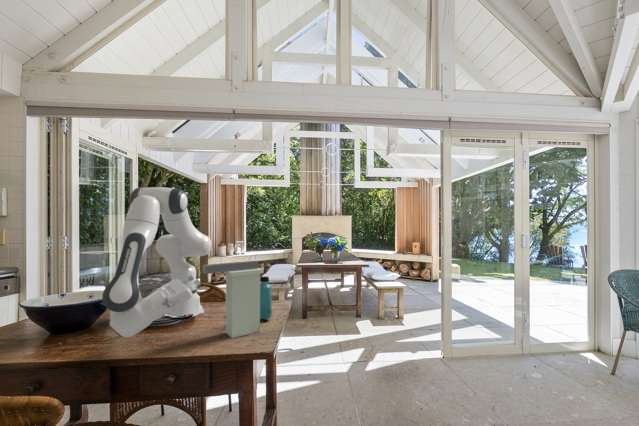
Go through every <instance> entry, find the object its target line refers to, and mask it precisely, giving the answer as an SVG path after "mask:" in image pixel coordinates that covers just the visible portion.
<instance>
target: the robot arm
mask: <svg viewBox="0 0 639 426" xmlns="http://www.w3.org/2000/svg"><path fill="white" fill-rule="evenodd" d="M188 201H189V198H188V194H187V193H186V192H185V191H184V190H183V189H180V188H176V187H175V188H171V187H166V186H165V187H164V186H163V187H162V186H158V187H157V186H156V187H153V186H152V187H150V186H149V187H145V186H141V187H137V188H134V189H133V190H132V191H131V193H130V196H129V205H130V206H129V208H128V211H127V214H126V217H125V220H124V223H123V228H122V229H123V230H122V240H121V241H122V245H121V246H122V249H121V253H120V256H119V260H118V264H117V267H116V271H115V274H114V276H113V278H112V279H111V281H109V283H108V284H107V285H106V287H105V288H104V290H103V292H102V298H101V299H102V303H103V305H104V307H105V308H106V309H108V310H109V311H110V312H109V313H110V317H109V319H110V320H109V328H110V329H111V330H112V331H113V332H114V333H115V334H116V335H117V336H119V337H121V338H123V339H124V338H127V339H128V338H131V337H132V336H135V335H136V334H138V333H140V332H141V331H143V330H144V329H146V328H147V327H149V326H150V325H151V324H152V323H153V322H154V321H156V320H159V319H160V318H161V317H164V316H163V315H165V314H168V315H171V316H184V315H188V314H193V316H192V317H196V316H198V315H202V314H204V313H205V310H204V308H203V306H202V304H201V302H200V301H201V299H200V295H199V294H198V293H197V292H198V286H200V285H201V280H200V279H197V270H196V268H195V266H194V265H192V264H190V263H189V262H187V260H186V259H185V258H188V257H189V258H192V257H194V258H198V257H203V256H207V255H208V254H209V253H210V252H211V251H212V244H213V243H212V240H211V238H210V237H209V235H206V234H204V233H202V232H200V231H199V230H198V229H197V228H196V227H195V226H194V224H193V223H192V221H191V217H190V215H189V211H188V203H189V202H188ZM160 215H161V217H160ZM160 218H162V221H163V224H164V228H165V230H166V231H167V233H168V234H164V235H161V236H159V238H157V240H156V243H155V248H156V252H157V253H158V254H159V255H160V256H162V258H163V259H165V261H166V262H167V264H168V266H169V268H170V278H171V279H170V280H169V282H167V283H165V284H162V286H160V287H159V288H158V287H157V288H154V289H153V290H152V291H151V293H150V294H149V295H147V296H146V297H144V298H143V297H142V295H141V290H140V288H139V286H138V285H139V284H138V275H139V271H140V267H141V263H142V258H143V256H144V253H145V251H146V250H147V249H148V248H149V247H150V246H151V245H152V244H153V242H154V240H155V238H156V234H157V233H158V229H159V224H160ZM192 317H191V318H192Z"/></svg>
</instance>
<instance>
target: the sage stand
mask: <svg viewBox="0 0 639 426" xmlns="http://www.w3.org/2000/svg"><path fill="white" fill-rule="evenodd" d="M264 272H265V271H264V268H260V267H258V269H249V270H239V271H229V272H222V274H225V334H227V336H229V337H230V338H231V339H234V338H238V337H243V336H247V335H248V336H249V335H251V334H255V332H257V333H260V332H261V319H260V284H261V282H260V277H261V274H264Z"/></svg>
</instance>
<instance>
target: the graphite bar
mask: <svg viewBox="0 0 639 426" xmlns="http://www.w3.org/2000/svg"><path fill="white" fill-rule="evenodd" d="M258 268H259V261H258V260H248V261H246V260H245V261H238V262H237V261H235V262H222V263H211V264H203V265H202V273H203V274H205V275H206V274H217V273H218V274H219V273H223V272H229V271H239V270H249V269H258Z"/></svg>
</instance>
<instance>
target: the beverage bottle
mask: <svg viewBox="0 0 639 426" xmlns="http://www.w3.org/2000/svg"><path fill="white" fill-rule="evenodd" d="M269 282H270V278H269V276H260V320H267V319H271V318H272V313H273V312H272V303H273V302H272V285H271V284H270V283H269Z"/></svg>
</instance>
